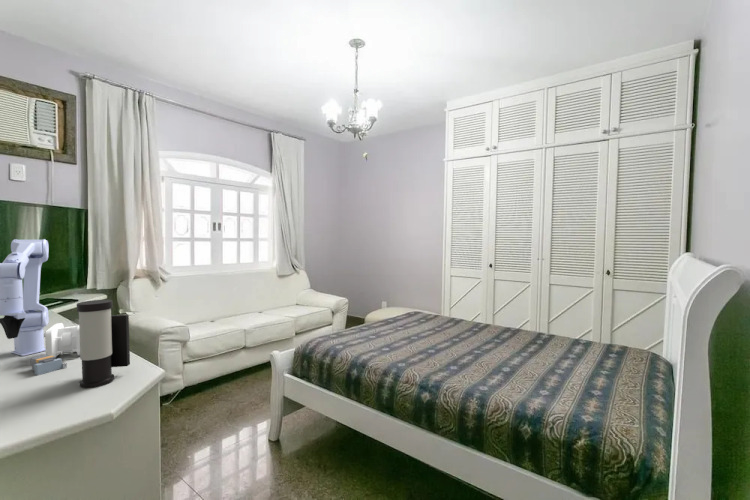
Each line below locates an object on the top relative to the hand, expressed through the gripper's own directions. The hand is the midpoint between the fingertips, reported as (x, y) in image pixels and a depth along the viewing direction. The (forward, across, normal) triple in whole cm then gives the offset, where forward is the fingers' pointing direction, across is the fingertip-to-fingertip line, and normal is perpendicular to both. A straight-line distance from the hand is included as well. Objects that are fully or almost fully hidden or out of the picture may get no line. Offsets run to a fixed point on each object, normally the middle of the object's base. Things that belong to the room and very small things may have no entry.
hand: (12, 337), depth 117 cm
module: (+11, +10, +4) cm, 15 cm away
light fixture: (+11, +39, +6) cm, 41 cm away
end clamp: (+10, +14, +4) cm, 18 cm away
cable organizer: (+11, 0, +15) cm, 19 cm away
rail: (+10, +7, +7) cm, 14 cm away
